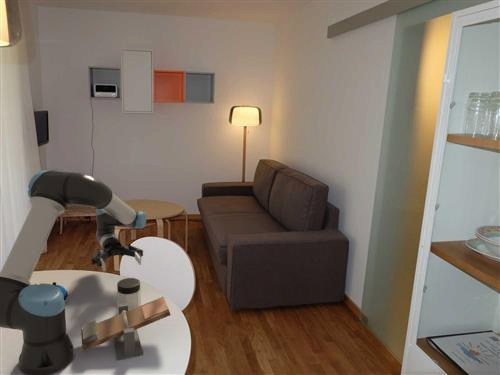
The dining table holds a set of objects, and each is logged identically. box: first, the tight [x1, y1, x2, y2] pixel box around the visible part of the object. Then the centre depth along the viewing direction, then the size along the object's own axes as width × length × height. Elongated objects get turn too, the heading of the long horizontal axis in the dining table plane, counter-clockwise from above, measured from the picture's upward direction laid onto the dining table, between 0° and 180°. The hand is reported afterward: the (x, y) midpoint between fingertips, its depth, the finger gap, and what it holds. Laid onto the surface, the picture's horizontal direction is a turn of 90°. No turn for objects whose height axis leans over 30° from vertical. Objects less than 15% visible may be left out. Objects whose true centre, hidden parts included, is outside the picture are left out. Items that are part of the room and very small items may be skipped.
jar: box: [116, 277, 142, 315], centre depth 152 cm, size 9×8×12 cm
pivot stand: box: [112, 303, 144, 361], centre depth 135 cm, size 8×18×9 cm, turn 23°
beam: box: [80, 296, 171, 352], centre depth 134 cm, size 28×13×4 cm, turn 112°
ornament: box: [52, 281, 69, 302], centre depth 153 cm, size 9×9×10 cm
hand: (122, 264), depth 158 cm, fingers open, 13 cm apart
